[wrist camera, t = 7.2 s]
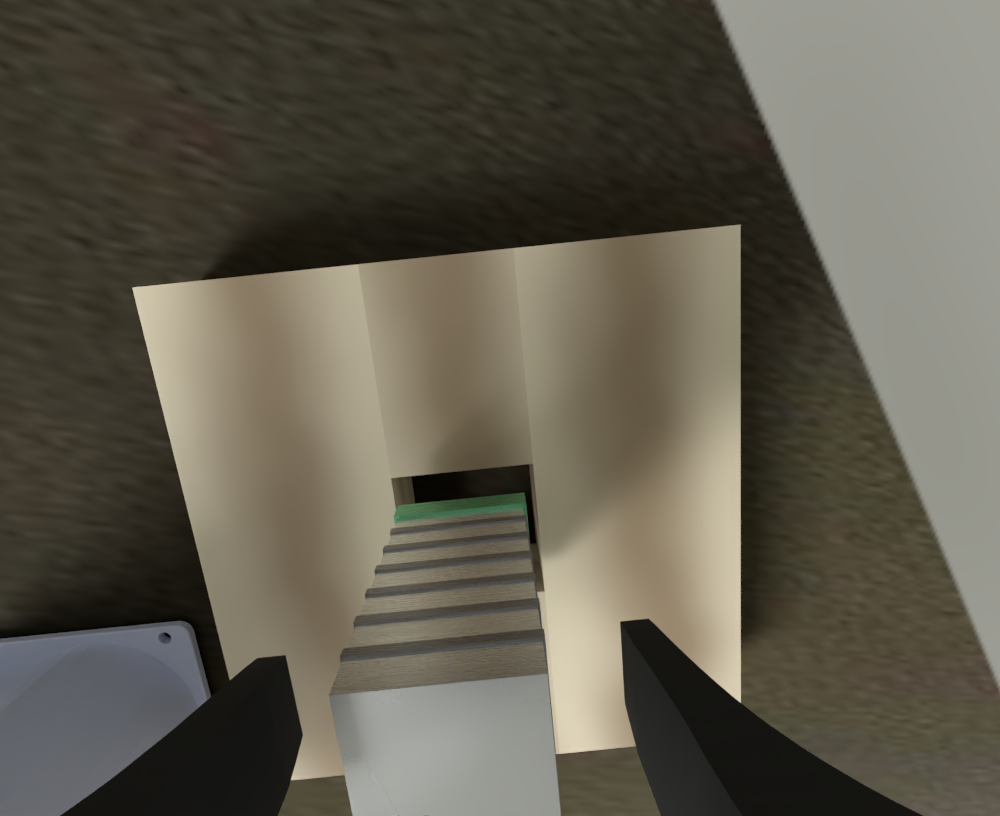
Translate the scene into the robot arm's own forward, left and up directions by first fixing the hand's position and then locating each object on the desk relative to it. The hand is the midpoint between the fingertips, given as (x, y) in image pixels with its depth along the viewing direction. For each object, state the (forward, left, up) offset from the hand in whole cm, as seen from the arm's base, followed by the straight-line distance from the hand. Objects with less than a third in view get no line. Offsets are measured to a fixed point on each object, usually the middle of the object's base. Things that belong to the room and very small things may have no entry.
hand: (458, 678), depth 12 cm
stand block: (0, 0, -10) cm, 10 cm away
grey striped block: (0, 0, -6) cm, 6 cm away
